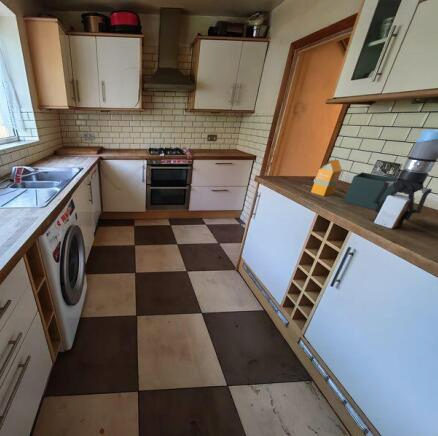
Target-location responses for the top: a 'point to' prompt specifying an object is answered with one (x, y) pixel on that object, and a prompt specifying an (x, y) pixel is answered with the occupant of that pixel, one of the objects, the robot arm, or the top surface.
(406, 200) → the small box
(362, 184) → the dark green open bin
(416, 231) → the top surface
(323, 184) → the orange juice
